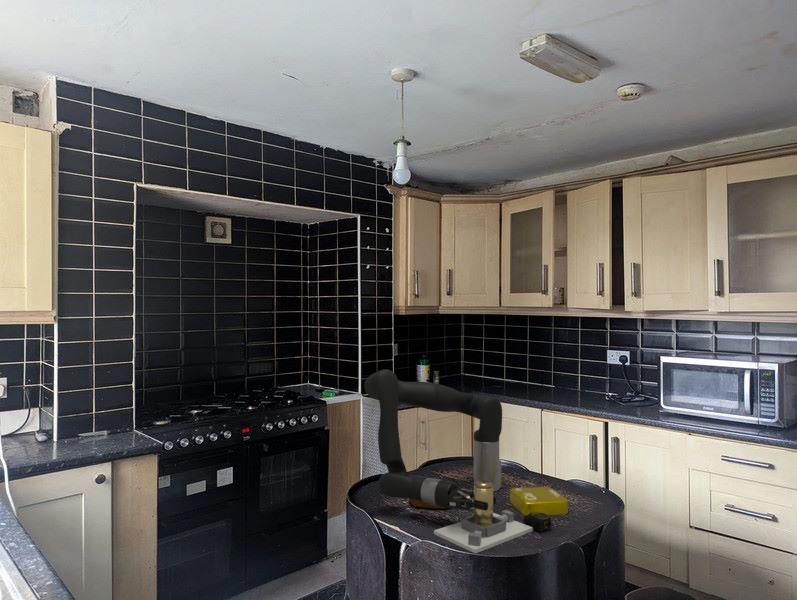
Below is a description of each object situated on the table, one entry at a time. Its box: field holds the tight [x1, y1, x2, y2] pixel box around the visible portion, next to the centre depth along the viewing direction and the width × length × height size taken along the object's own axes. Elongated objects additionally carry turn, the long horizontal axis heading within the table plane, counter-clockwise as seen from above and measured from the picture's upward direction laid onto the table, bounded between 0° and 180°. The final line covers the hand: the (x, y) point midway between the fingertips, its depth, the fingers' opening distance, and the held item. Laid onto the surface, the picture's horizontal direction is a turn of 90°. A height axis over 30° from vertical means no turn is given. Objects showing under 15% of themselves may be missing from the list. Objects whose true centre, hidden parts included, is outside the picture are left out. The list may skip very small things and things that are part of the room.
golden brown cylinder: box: [473, 480, 494, 527], centre depth 153 cm, size 6×6×12 cm
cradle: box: [433, 509, 534, 554], centre depth 153 cm, size 24×16×4 cm, turn 128°
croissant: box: [408, 498, 446, 509], centre depth 178 cm, size 15×16×8 cm
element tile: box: [509, 486, 569, 516], centre depth 174 cm, size 15×15×5 cm
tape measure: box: [523, 512, 552, 532], centre depth 157 cm, size 7×7×4 cm
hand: (491, 503), depth 152 cm, fingers closed on golden brown cylinder, 5 cm apart
